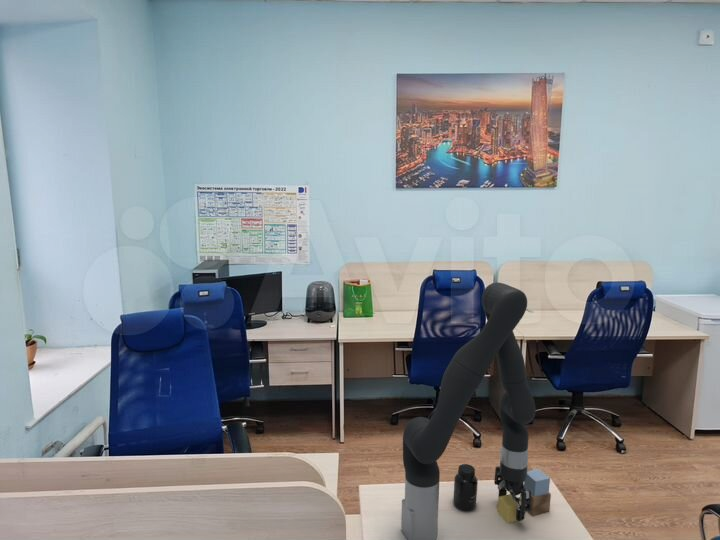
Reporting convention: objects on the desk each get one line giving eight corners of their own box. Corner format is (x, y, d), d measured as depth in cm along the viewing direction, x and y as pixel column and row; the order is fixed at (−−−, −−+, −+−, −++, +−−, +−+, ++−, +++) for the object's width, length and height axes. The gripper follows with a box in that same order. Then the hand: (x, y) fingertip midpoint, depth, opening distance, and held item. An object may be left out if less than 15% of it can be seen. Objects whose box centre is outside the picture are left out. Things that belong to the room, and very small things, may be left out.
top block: (507, 523, 143) (508, 507, 142) (497, 511, 148) (498, 496, 147) (522, 519, 145) (523, 503, 144) (511, 508, 149) (512, 493, 148)
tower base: (532, 516, 146) (533, 498, 145) (519, 503, 151) (520, 485, 150) (549, 512, 148) (550, 494, 147) (536, 499, 153) (537, 482, 152)
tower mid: (534, 497, 145) (535, 481, 144) (523, 486, 150) (524, 471, 149) (548, 493, 147) (550, 478, 146) (537, 483, 152) (538, 468, 151)
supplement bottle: (476, 513, 147) (478, 476, 145) (452, 510, 148) (454, 473, 146) (476, 498, 154) (477, 463, 151) (453, 495, 155) (455, 460, 153)
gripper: (488, 449, 148) (486, 498, 152) (518, 477, 135) (514, 529, 138) (510, 445, 151) (507, 493, 154) (541, 471, 137) (537, 523, 141)
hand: (510, 510), depth 146 cm, fingers open, 8 cm apart
